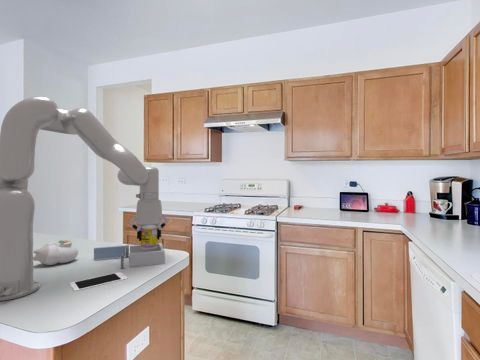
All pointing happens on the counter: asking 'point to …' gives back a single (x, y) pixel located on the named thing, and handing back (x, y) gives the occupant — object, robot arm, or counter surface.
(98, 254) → the cover
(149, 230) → the supplement bottle
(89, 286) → the cell phone
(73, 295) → the counter surface
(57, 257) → the white bunny figurine
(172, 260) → the counter surface
